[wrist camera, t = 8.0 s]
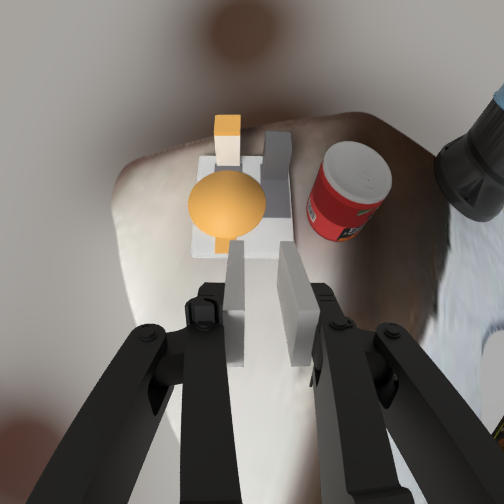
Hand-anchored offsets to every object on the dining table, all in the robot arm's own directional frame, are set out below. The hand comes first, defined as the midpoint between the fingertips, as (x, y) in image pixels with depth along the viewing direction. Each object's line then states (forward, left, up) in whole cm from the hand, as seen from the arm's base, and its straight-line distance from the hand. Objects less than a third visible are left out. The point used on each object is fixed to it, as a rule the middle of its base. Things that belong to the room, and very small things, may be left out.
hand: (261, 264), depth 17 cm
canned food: (-11, -14, -20) cm, 27 cm away
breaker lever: (+3, -21, -18) cm, 28 cm away
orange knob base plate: (+1, -15, -20) cm, 25 cm away
